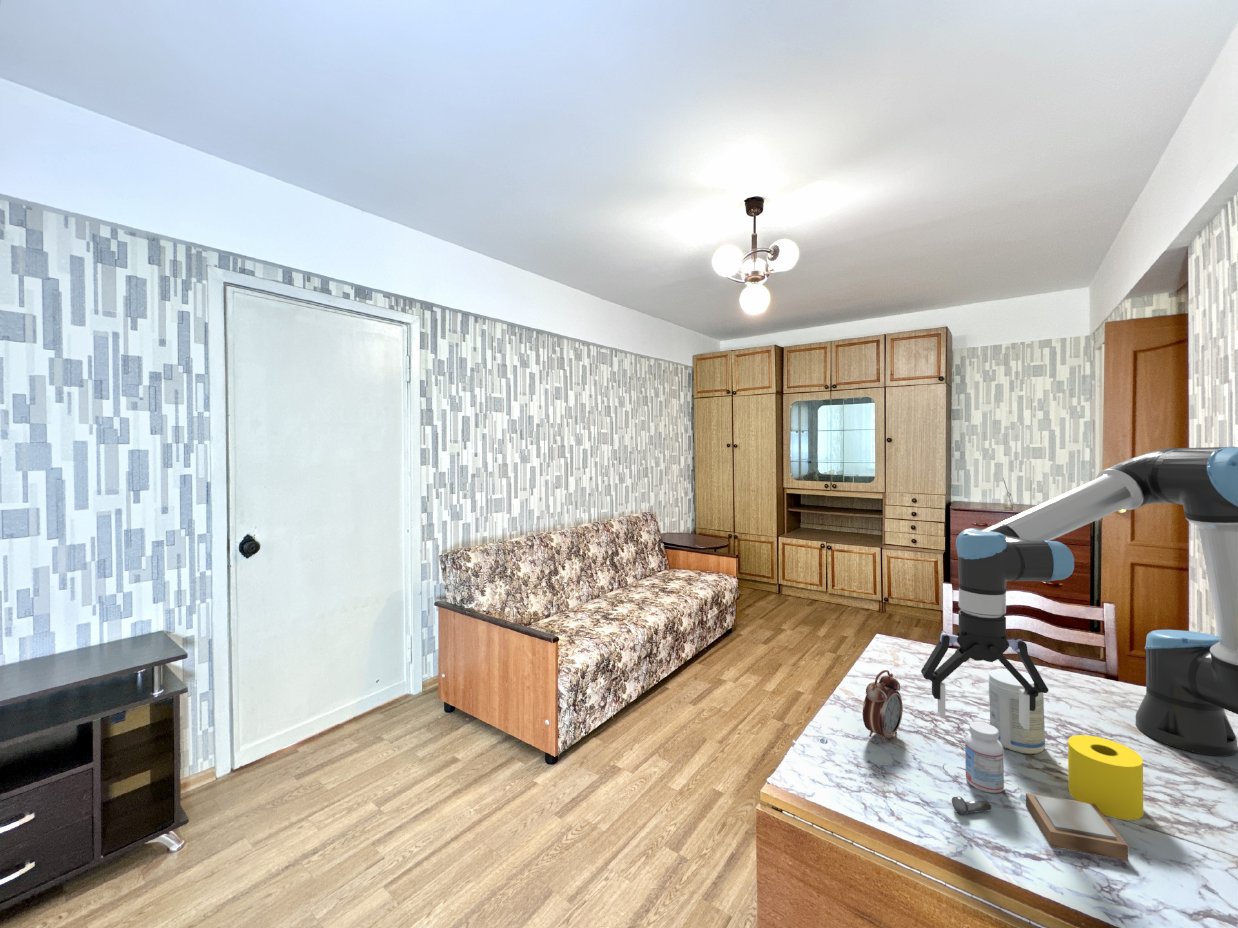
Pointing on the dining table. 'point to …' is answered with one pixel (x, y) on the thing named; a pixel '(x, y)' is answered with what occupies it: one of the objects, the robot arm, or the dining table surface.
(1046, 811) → the stand
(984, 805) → the loose bolt
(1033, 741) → the supplement tub
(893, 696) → the alarm clock
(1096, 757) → the yellow toilet paper roll
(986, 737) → the pill bottle
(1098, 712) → the dining table surface
